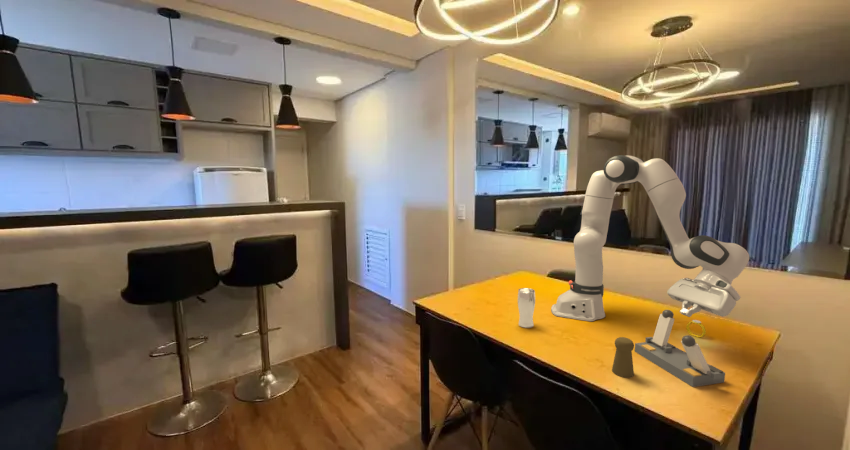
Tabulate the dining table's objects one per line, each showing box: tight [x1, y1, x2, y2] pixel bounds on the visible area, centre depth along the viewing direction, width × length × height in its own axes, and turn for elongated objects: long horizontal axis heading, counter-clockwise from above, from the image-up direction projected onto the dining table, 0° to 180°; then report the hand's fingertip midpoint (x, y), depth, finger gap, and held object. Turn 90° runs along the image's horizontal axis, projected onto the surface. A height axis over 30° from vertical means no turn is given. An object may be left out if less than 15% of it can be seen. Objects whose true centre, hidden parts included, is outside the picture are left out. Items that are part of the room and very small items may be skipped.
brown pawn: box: [611, 336, 635, 379], centre depth 110 cm, size 6×6×11 cm
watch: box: [686, 319, 707, 339], centre depth 134 cm, size 6×3×6 cm, turn 23°
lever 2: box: [680, 334, 712, 376], centre depth 103 cm, size 3×6×13 cm
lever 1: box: [650, 309, 675, 349], centre depth 120 cm, size 3×6×13 cm, turn 11°
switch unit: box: [634, 336, 726, 388], centre depth 112 cm, size 11×24×5 cm, turn 10°
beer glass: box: [517, 287, 536, 329], centre depth 147 cm, size 7×7×15 cm
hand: (684, 314), depth 120 cm, fingers closed
